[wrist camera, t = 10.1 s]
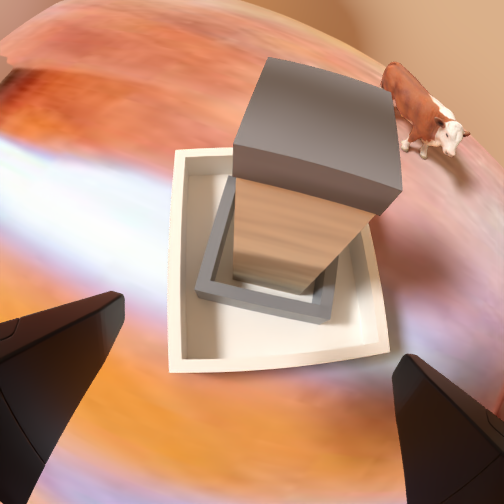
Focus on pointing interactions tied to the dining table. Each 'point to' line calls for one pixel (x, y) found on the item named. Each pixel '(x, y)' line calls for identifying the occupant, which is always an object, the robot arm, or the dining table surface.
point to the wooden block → (309, 172)
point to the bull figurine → (422, 112)
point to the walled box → (257, 288)
